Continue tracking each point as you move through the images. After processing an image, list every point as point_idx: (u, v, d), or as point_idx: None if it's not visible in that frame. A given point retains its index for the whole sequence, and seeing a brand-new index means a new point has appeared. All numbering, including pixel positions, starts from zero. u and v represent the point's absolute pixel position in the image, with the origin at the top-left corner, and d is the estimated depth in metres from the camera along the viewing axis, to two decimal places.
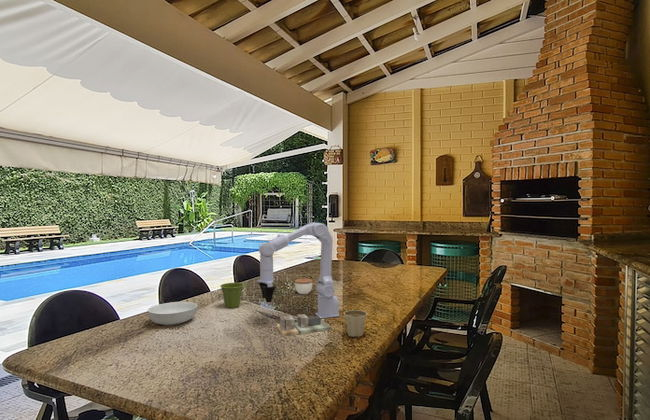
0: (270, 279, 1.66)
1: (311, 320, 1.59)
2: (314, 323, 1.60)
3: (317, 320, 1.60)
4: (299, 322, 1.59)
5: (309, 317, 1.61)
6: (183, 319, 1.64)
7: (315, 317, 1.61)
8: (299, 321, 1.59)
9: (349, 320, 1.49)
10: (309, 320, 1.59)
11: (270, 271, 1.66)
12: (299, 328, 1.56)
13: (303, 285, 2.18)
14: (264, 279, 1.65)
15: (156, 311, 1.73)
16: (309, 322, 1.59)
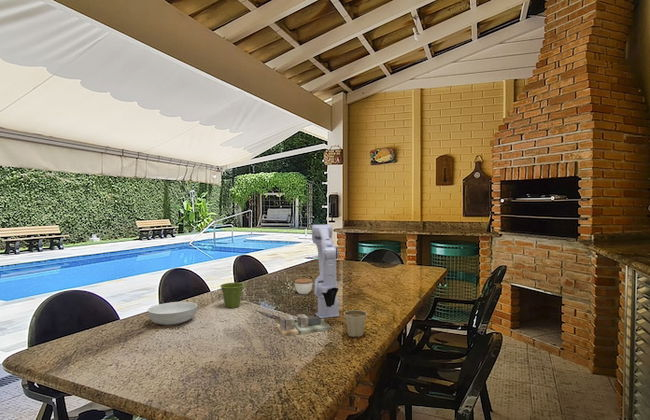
0: (330, 285, 1.61)
1: (311, 320, 1.59)
2: (314, 323, 1.60)
3: (317, 320, 1.60)
4: (299, 322, 1.59)
5: (309, 317, 1.61)
6: (183, 319, 1.64)
7: (315, 317, 1.61)
8: (299, 321, 1.59)
9: (349, 320, 1.49)
10: (309, 320, 1.59)
11: (330, 276, 1.61)
12: (299, 328, 1.56)
13: (303, 285, 2.18)
14: (324, 284, 1.62)
15: (156, 311, 1.73)
16: (309, 322, 1.59)
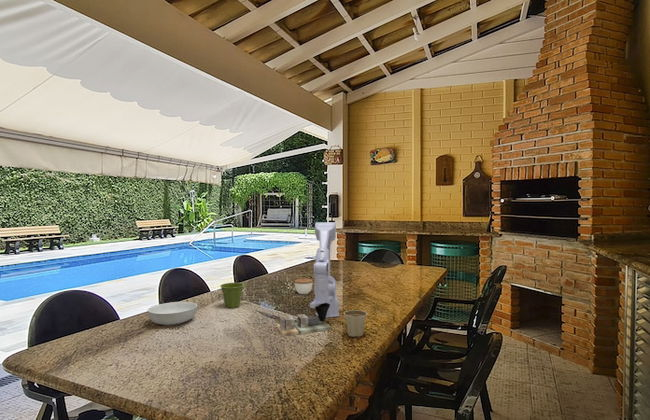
0: (320, 300, 1.60)
1: (310, 320, 1.59)
2: (313, 323, 1.60)
3: (316, 320, 1.60)
4: (298, 322, 1.59)
5: (308, 317, 1.61)
6: (183, 319, 1.64)
7: (314, 317, 1.61)
8: (298, 321, 1.59)
9: (349, 320, 1.49)
10: (308, 320, 1.59)
11: (320, 292, 1.60)
12: (299, 328, 1.56)
13: (303, 285, 2.18)
14: (315, 299, 1.61)
15: (156, 311, 1.73)
16: (308, 322, 1.59)
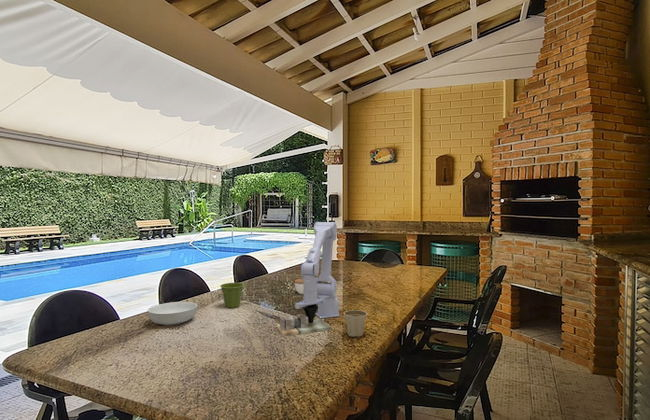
0: (306, 301, 1.58)
1: (298, 322, 1.57)
2: None
3: None
4: None
5: (296, 319, 1.60)
6: (183, 319, 1.64)
7: None
8: None
9: (349, 320, 1.49)
10: (296, 322, 1.57)
11: (306, 293, 1.58)
12: (299, 328, 1.56)
13: None
14: (303, 299, 1.60)
15: (156, 311, 1.73)
16: (296, 323, 1.57)
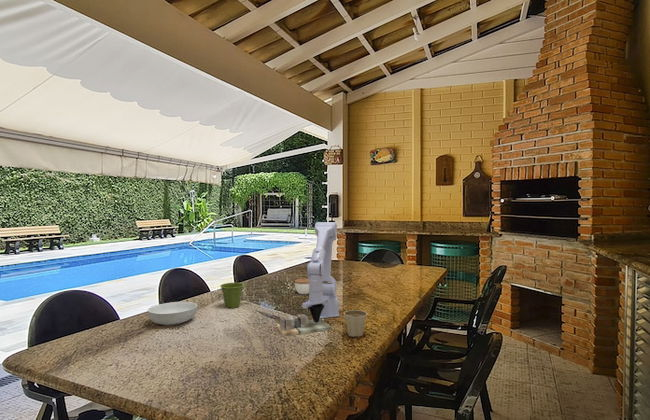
0: (313, 301, 1.59)
1: (298, 322, 1.57)
2: None
3: None
4: None
5: (296, 319, 1.60)
6: (183, 319, 1.64)
7: None
8: None
9: (349, 320, 1.49)
10: (296, 322, 1.57)
11: (313, 292, 1.59)
12: (299, 328, 1.56)
13: (303, 285, 2.18)
14: (309, 299, 1.61)
15: (156, 311, 1.73)
16: (296, 323, 1.57)
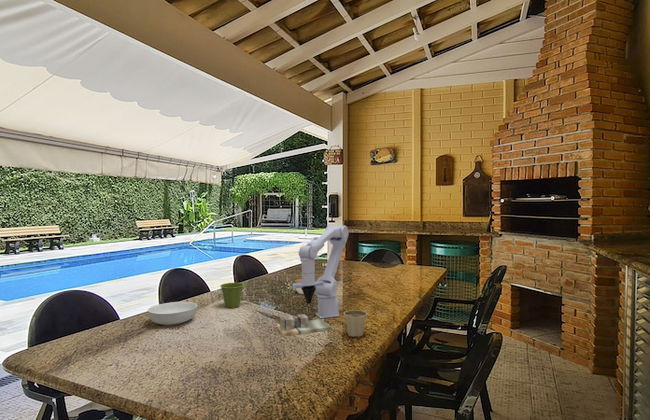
0: (303, 282, 1.65)
1: (298, 322, 1.57)
2: None
3: None
4: None
5: (296, 319, 1.60)
6: (183, 319, 1.64)
7: None
8: None
9: (349, 320, 1.49)
10: (296, 322, 1.57)
11: (303, 274, 1.65)
12: (299, 328, 1.56)
13: None
14: (302, 281, 1.67)
15: (156, 311, 1.73)
16: (296, 323, 1.57)
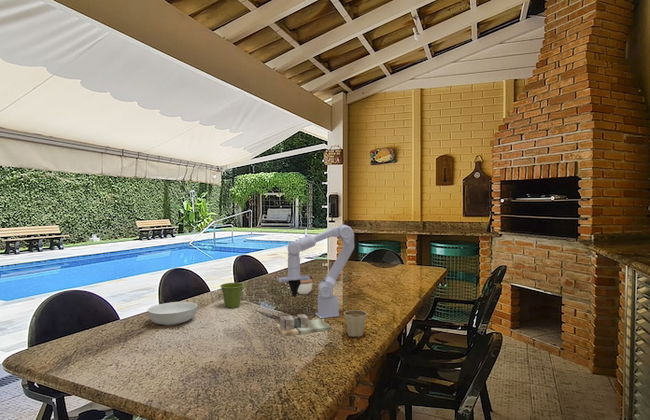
0: (289, 276, 1.75)
1: (298, 322, 1.57)
2: None
3: None
4: None
5: (296, 319, 1.60)
6: (183, 319, 1.64)
7: None
8: None
9: (349, 320, 1.49)
10: (296, 322, 1.57)
11: (289, 269, 1.75)
12: (299, 328, 1.56)
13: (303, 285, 2.18)
14: None
15: (156, 311, 1.73)
16: (296, 323, 1.57)
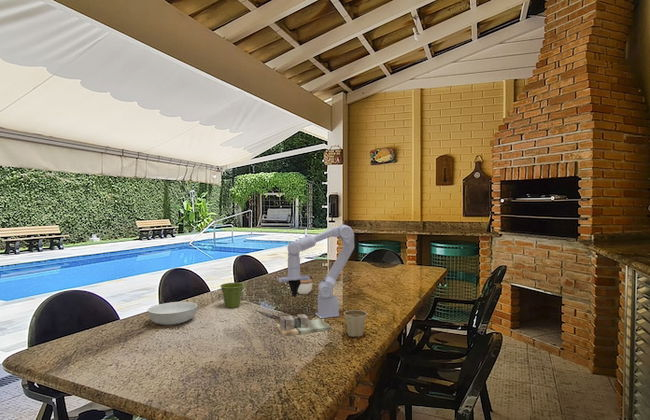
0: (289, 276, 1.75)
1: (298, 322, 1.57)
2: None
3: None
4: None
5: (296, 319, 1.60)
6: (183, 319, 1.64)
7: None
8: None
9: (349, 320, 1.49)
10: (296, 322, 1.57)
11: (289, 269, 1.75)
12: (299, 328, 1.56)
13: (303, 285, 2.18)
14: None
15: (156, 311, 1.73)
16: (296, 323, 1.57)
